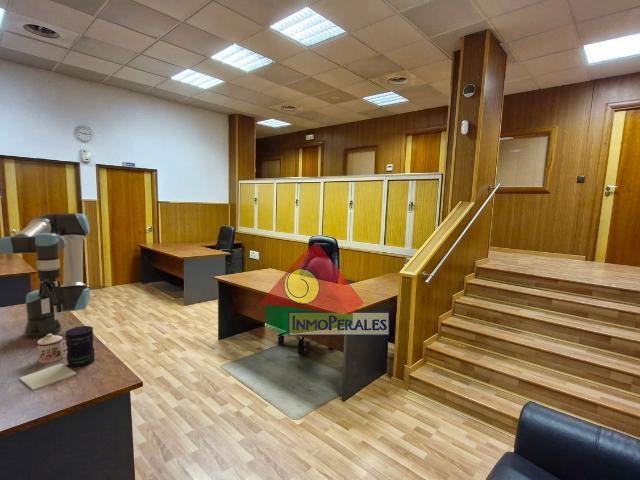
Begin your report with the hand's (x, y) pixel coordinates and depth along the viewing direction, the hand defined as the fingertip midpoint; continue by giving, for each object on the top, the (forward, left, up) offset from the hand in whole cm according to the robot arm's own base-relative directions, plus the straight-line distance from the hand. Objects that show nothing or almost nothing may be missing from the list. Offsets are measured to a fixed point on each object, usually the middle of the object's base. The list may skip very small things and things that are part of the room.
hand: (52, 315), depth 145 cm
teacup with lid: (0, 0, -20) cm, 20 cm away
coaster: (+16, -8, -20) cm, 27 cm away
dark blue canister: (+14, +5, -20) cm, 25 cm away
